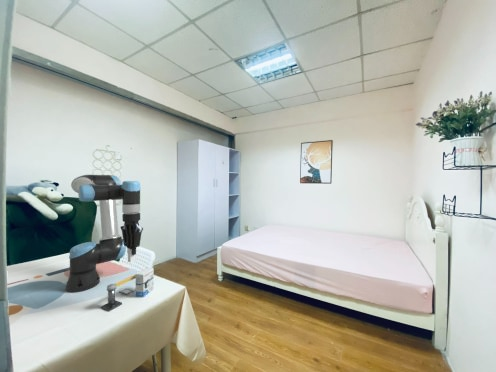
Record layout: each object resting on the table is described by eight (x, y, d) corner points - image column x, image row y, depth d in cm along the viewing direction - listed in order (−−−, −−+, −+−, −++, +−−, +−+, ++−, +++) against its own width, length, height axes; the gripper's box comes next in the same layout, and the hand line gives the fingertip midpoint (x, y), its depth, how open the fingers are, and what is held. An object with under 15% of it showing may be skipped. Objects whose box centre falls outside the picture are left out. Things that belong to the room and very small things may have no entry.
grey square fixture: (101, 308, 96) (100, 291, 95) (113, 301, 101) (113, 285, 101) (109, 311, 93) (109, 294, 93) (122, 304, 99) (121, 287, 98)
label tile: (119, 293, 109) (119, 291, 109) (126, 289, 112) (126, 288, 112) (126, 295, 106) (126, 294, 106) (133, 291, 110) (133, 290, 110)
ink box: (143, 297, 105) (143, 274, 104) (135, 296, 106) (134, 273, 105) (154, 288, 113) (154, 267, 113) (146, 288, 114) (146, 267, 114)
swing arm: (105, 290, 96) (105, 286, 96) (138, 275, 112) (138, 271, 112) (110, 292, 95) (110, 287, 95) (143, 276, 111) (143, 272, 111)
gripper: (148, 212, 100) (148, 260, 101) (129, 210, 105) (129, 256, 106) (134, 214, 93) (134, 266, 94) (114, 212, 99) (115, 261, 99)
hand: (131, 261), depth 100 cm, fingers closed
